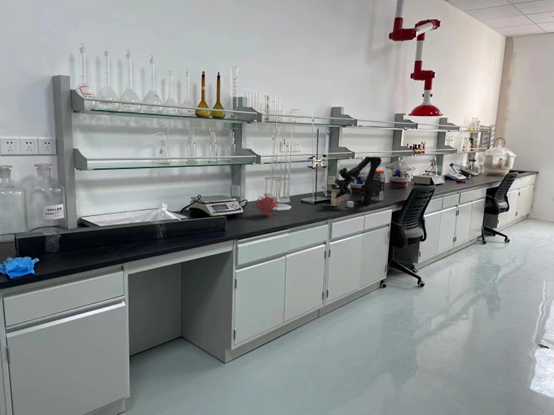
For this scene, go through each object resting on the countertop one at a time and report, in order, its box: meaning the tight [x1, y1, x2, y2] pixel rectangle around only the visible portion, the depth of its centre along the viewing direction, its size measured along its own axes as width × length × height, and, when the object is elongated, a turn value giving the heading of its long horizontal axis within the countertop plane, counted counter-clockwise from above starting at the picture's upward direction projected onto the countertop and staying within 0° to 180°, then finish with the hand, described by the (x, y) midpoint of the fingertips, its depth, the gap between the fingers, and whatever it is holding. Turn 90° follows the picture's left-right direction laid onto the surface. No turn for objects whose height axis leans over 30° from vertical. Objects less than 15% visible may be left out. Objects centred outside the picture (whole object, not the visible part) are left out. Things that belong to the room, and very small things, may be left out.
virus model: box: [255, 193, 279, 216], centre depth 279 cm, size 15×15×15 cm
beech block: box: [330, 189, 340, 207], centre depth 325 cm, size 4×4×12 cm
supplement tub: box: [366, 169, 386, 202], centre depth 364 cm, size 16×16×26 cm
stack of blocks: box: [331, 185, 351, 203], centre depth 353 cm, size 21×6×12 cm, turn 145°
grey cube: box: [346, 200, 354, 208], centre depth 326 cm, size 4×4×4 cm
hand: (334, 197), depth 324 cm, fingers closed on beech block, 4 cm apart
